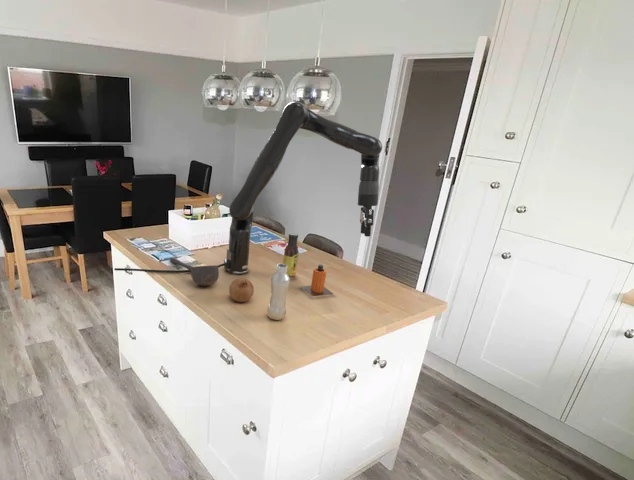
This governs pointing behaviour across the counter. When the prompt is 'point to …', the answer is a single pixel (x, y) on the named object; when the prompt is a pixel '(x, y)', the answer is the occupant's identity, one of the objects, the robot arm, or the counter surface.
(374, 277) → the counter surface
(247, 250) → the robot arm
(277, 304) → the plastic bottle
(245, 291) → the onion
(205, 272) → the ladle
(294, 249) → the sauce bottle
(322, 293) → the stand
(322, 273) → the orange grooved tube
